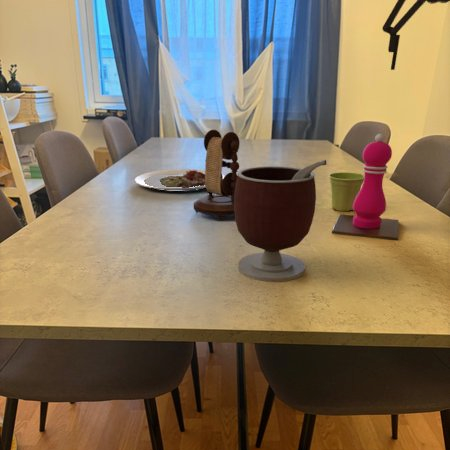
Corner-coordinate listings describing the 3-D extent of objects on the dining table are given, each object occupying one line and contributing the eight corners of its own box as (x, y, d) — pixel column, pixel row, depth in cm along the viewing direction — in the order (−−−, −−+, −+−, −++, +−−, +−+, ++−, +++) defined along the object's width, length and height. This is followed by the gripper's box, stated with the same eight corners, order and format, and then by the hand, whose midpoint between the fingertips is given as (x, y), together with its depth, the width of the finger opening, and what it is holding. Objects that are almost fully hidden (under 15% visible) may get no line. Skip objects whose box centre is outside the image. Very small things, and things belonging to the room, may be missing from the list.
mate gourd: (219, 271, 78) (217, 157, 69) (257, 249, 88) (260, 146, 79) (297, 292, 70) (307, 166, 61) (329, 265, 81) (342, 153, 71)
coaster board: (398, 222, 105) (398, 219, 104) (397, 240, 93) (397, 237, 93) (339, 216, 109) (339, 214, 109) (331, 233, 97) (331, 230, 97)
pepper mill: (355, 218, 105) (367, 131, 96) (385, 223, 102) (401, 133, 93) (346, 226, 100) (358, 134, 90) (378, 231, 96) (394, 136, 87)
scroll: (182, 212, 113) (178, 130, 104) (225, 202, 121) (225, 126, 112) (218, 225, 103) (217, 136, 94) (262, 213, 111) (265, 131, 102)
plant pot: (323, 211, 113) (326, 177, 109) (327, 202, 121) (330, 171, 117) (360, 214, 110) (365, 180, 106) (362, 205, 118) (366, 173, 114)
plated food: (118, 190, 134) (116, 179, 133) (159, 172, 160) (158, 163, 158) (209, 197, 126) (208, 186, 125) (237, 177, 152) (237, 167, 150)
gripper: (380, -54, 84) (364, 69, 94) (528, -68, 76) (494, 68, 86) (382, -45, 90) (367, 70, 100) (519, -57, 82) (488, 69, 92)
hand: (425, 69), depth 93 cm, fingers open, 13 cm apart
